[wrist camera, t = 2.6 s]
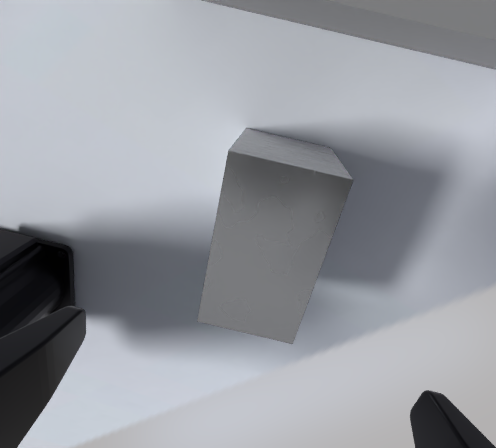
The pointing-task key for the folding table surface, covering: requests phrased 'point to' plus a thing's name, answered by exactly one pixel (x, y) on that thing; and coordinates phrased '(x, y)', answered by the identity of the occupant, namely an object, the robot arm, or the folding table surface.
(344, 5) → the open box
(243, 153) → the grey bevelled block
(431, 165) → the folding table surface
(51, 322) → the robot arm
